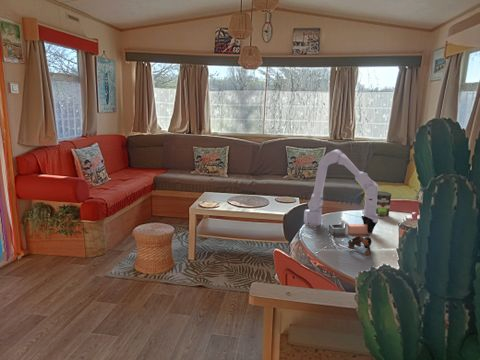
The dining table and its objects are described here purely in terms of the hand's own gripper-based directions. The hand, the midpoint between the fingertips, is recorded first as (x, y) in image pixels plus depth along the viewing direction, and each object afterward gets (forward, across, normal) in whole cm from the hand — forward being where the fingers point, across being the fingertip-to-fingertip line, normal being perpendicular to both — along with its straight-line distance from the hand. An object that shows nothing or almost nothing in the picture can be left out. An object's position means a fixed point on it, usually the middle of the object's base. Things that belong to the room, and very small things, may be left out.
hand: (368, 231), depth 185 cm
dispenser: (+2, 0, +11) cm, 11 cm away
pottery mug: (+2, -21, +12) cm, 24 cm away
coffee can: (+2, +31, -20) cm, 37 cm away
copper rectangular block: (+1, 0, +5) cm, 5 cm away
